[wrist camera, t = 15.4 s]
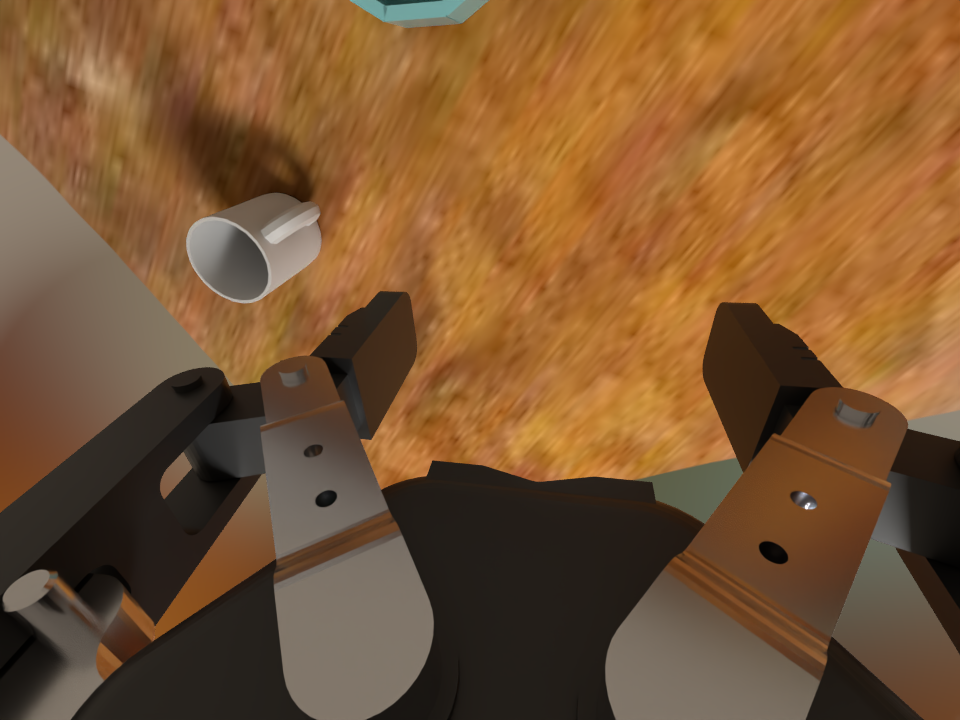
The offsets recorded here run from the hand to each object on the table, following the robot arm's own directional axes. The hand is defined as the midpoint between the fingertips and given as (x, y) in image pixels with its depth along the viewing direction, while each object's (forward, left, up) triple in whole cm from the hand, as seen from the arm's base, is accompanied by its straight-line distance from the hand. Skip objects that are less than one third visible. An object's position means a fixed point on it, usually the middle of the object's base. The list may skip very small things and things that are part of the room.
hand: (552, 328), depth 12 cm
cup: (+25, +5, -28) cm, 38 cm away
